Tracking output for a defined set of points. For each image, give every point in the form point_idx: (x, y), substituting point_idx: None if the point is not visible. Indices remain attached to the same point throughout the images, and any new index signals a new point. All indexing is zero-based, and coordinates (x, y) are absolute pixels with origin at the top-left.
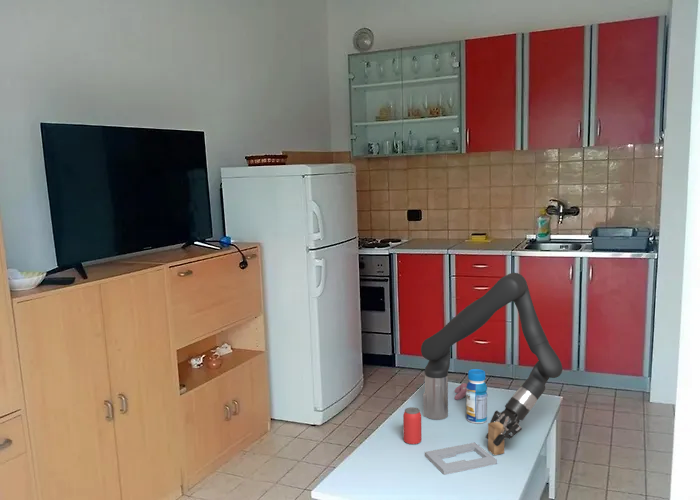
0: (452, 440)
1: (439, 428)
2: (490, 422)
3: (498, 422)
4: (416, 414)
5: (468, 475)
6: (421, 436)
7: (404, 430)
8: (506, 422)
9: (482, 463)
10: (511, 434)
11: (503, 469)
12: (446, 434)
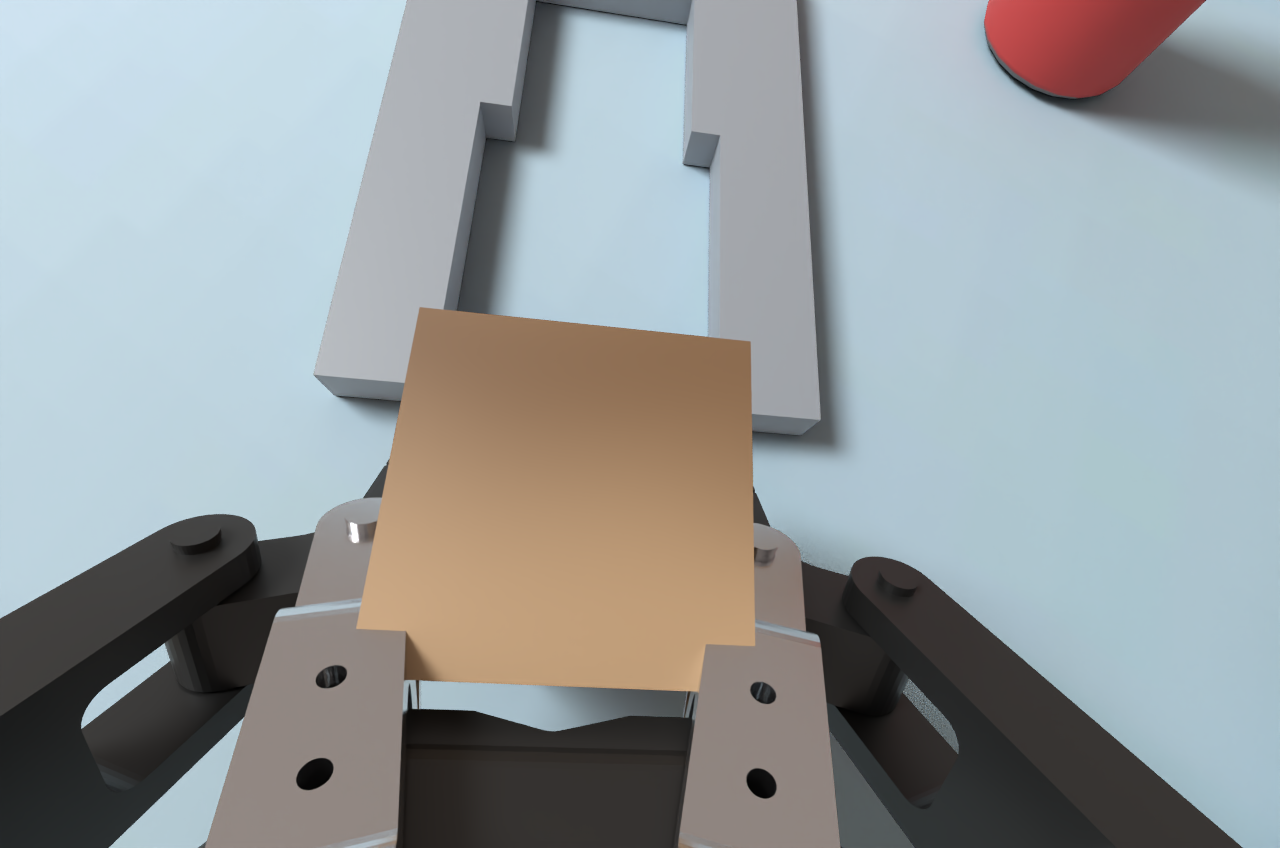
0: (989, 318)
1: (1267, 360)
2: (933, 594)
3: (674, 649)
4: None
5: (319, 54)
6: (1063, 52)
7: None
8: (259, 799)
9: (359, 209)
10: (148, 734)
11: (187, 381)
12: (1127, 343)
